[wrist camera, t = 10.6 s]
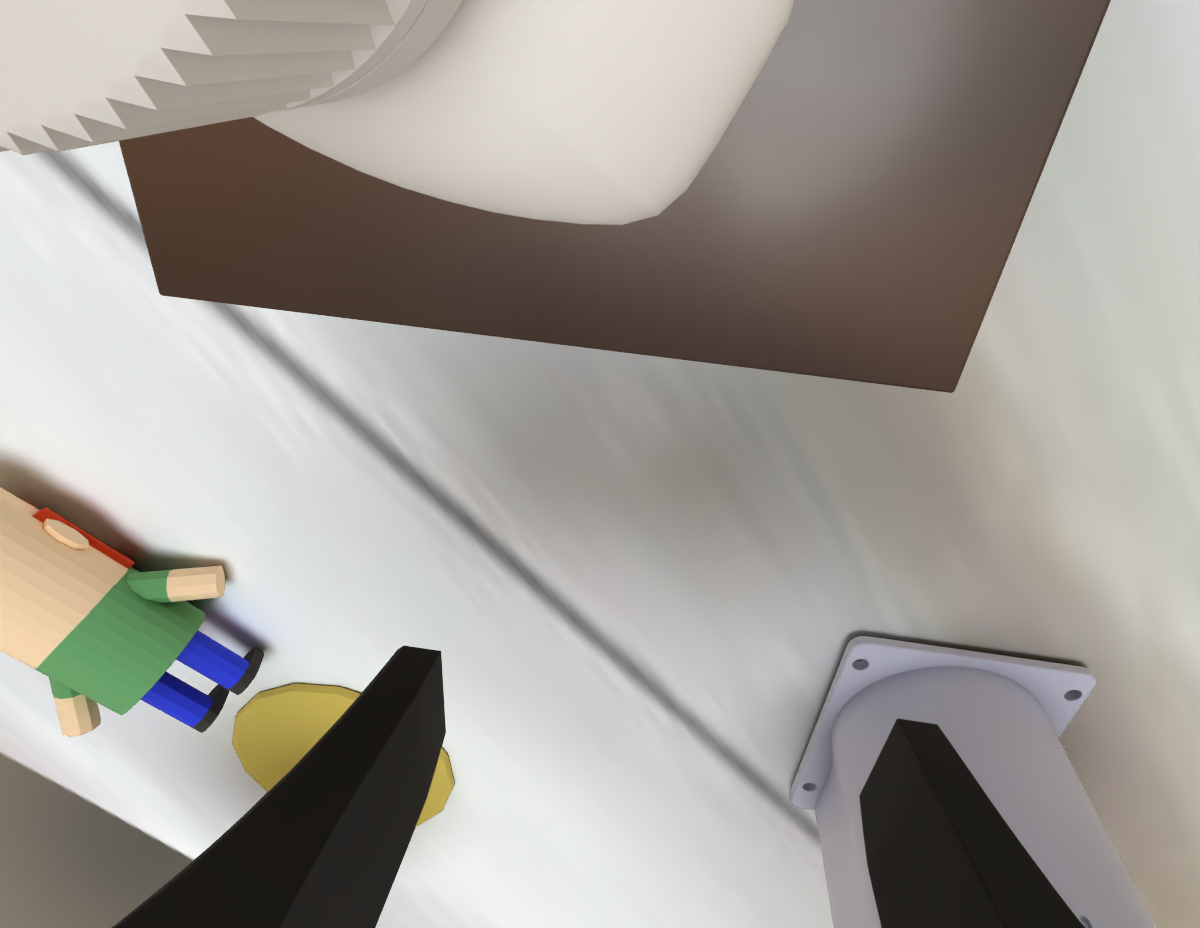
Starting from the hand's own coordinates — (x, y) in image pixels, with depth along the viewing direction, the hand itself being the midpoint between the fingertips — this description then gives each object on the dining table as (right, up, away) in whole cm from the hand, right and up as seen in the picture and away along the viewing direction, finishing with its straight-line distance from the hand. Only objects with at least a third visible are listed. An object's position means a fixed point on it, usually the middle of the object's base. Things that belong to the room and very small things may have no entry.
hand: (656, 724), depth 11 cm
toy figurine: (-18, 0, +15) cm, 24 cm away
